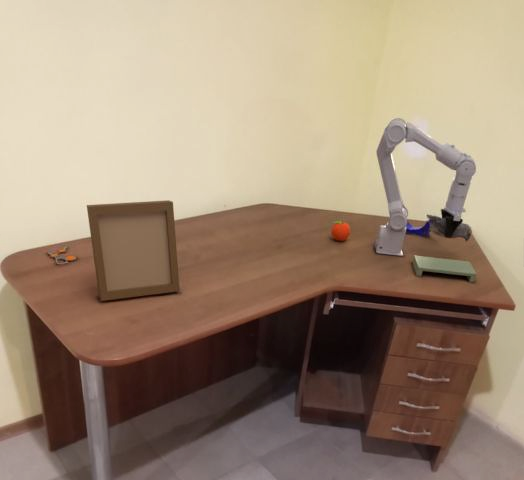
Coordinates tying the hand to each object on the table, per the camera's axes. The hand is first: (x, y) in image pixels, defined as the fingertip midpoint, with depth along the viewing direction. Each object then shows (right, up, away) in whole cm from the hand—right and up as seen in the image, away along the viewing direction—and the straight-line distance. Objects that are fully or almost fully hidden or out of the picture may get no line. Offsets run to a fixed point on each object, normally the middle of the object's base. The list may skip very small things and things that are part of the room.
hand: (446, 234), depth 180 cm
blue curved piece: (-4, +6, +26) cm, 27 cm away
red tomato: (-36, +1, +13) cm, 38 cm away
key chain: (-127, -11, -17) cm, 128 cm away
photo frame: (-100, -22, -29) cm, 107 cm away
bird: (0, -1, +1) cm, 2 cm away
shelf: (-3, -14, -4) cm, 15 cm away
